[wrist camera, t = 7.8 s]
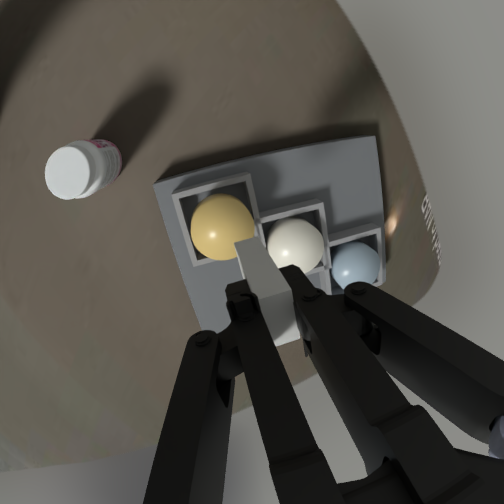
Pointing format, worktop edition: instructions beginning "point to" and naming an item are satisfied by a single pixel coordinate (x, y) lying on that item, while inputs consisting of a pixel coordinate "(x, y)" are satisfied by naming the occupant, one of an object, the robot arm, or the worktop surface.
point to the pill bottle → (82, 168)
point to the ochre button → (220, 226)
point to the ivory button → (294, 243)
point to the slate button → (354, 263)
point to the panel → (278, 211)
